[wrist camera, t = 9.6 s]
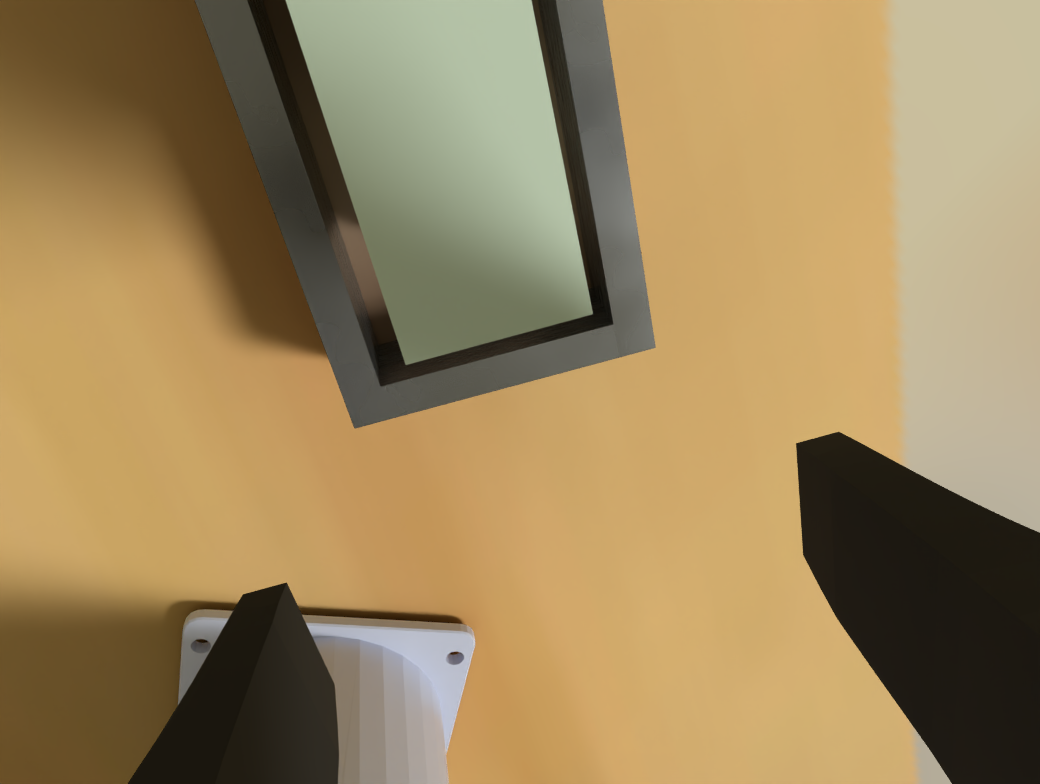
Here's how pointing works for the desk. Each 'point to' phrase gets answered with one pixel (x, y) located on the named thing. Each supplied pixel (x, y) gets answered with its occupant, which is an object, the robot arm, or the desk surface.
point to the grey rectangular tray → (340, 243)
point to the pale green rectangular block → (449, 164)
